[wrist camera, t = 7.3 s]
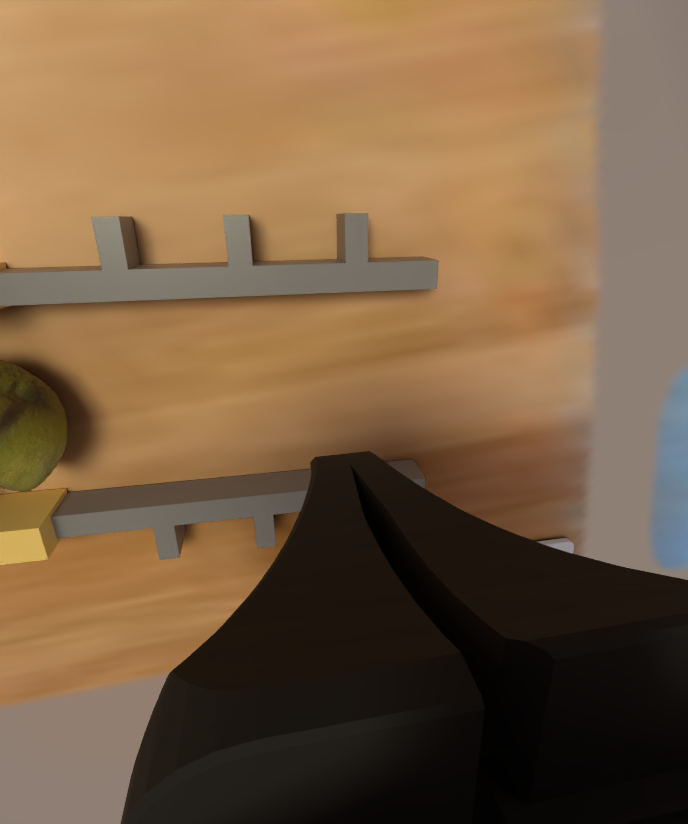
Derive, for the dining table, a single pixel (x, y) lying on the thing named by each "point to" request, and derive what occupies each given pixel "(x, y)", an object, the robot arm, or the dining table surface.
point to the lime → (28, 429)
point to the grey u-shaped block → (129, 281)
